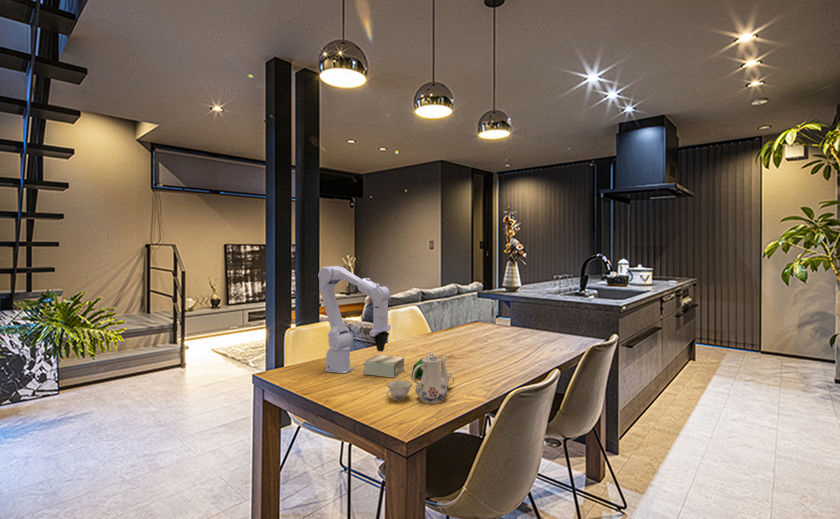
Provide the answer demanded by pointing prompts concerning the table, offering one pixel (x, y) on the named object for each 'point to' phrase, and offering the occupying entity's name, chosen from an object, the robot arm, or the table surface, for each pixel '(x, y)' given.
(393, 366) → the door
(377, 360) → the cabinet
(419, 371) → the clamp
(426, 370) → the chinaware
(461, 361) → the table surface
